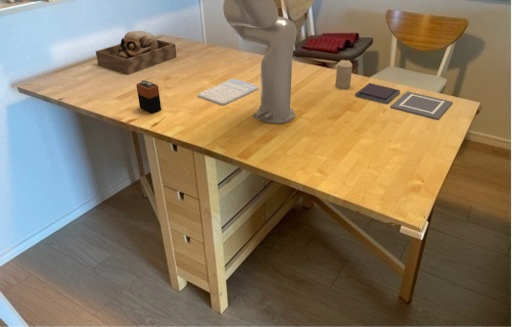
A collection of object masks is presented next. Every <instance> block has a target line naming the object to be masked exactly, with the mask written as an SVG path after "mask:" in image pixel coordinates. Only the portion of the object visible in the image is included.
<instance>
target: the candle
mask: <svg viewBox="0 0 512 327" xmlns="http://www.w3.org/2000/svg"><path fill="white" fill-rule="evenodd" d="M352 72H353V63H352V62H351V60H348V59H347V60H345V59H341V60H340V61H339V62H337V64H336V75H335V83H334V84H335V85H334V86H335V88H337V89H340V90H342V89H343V90H345V89H346V90H347V89H349V88H351V80H352Z"/></svg>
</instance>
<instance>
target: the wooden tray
mask: <svg viewBox="0 0 512 327" xmlns="http://www.w3.org/2000/svg"><path fill="white" fill-rule="evenodd" d="M156 40H157V43H158V49H156V50H153V51H150V52H147V53H144V54H141V55H138V56H135V57H132V58H129V59H124V58H121V57H119V53H120V52H119V51H118V49H119V48H120V43H119V44H115V45H113V46H109V47H105V48H102V49H99V50H95V55H96V60H97V64H98V66H100V67H104V68H107V69H109V70H113V71H116V72H119V73H121V74H126V75H132V74H134V73H138V72H140V71H142V70H145V69H148V68H151V67H154V66H156V65H159V64H162V63H164V62H167V61H171V60H173V59H175V58H177V48H176V44H175V43H172V42H168V41H165V40H160V39H157V38H156Z"/></svg>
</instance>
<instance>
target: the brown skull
mask: <svg viewBox="0 0 512 327" xmlns="http://www.w3.org/2000/svg"><path fill="white" fill-rule="evenodd" d="M156 39H157V38H156V37H155V36H154V35H153V34H152V33H151V32H148V31H145V30H144V31H143V30H133V31H128V32H127V33H125V35H124V37H122V38H121V40H120V43H119V44H120V48H119V49H118V51H119V52H120V53H119V57H121V58H124V59H129V58H132V57H135V56H138V55H141V54H144V53H147V52H150V51H153V50H156V49H158V43H157V40H158V39H157V40H156Z"/></svg>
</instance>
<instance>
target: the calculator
mask: <svg viewBox="0 0 512 327" xmlns="http://www.w3.org/2000/svg"><path fill="white" fill-rule="evenodd" d="M259 89H260V88H259V86H258V85H256V84H253V83H251V82H248V81H244V80H241V79H237V78H231V79H229V80H226V81H224V82H221V83H219V84H217V85H215V86H212V87H210V88H207V89H206V90H203V91H201V92H199V93H197V97H198V98H200V99H202V100H205V101H208V102H210V103H213V104H216V105H219V106H221V107H222V106H228V105H229V104H231V103H234V102H236V101H238V100H239V99H242V98H243V97H244V98H245V97H246V96H248V95H250V94H253V93H254V92H256V91H258V90H259Z"/></svg>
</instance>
